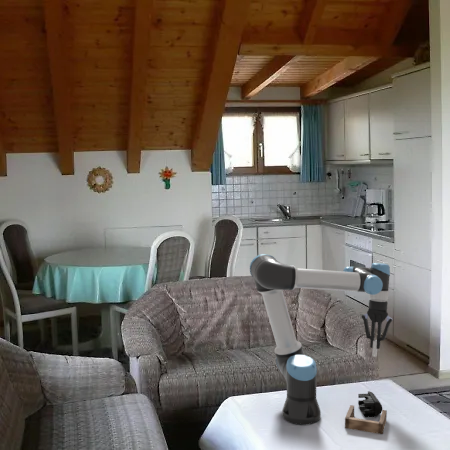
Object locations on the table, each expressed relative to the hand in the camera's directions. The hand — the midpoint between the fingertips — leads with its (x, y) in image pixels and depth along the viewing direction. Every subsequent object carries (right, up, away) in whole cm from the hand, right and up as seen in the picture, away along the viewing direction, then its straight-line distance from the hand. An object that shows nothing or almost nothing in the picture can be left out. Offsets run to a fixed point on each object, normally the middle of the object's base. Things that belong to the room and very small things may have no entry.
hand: (374, 355), depth 242 cm
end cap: (-4, -21, -9) cm, 23 cm away
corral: (-8, -22, -19) cm, 30 cm away
